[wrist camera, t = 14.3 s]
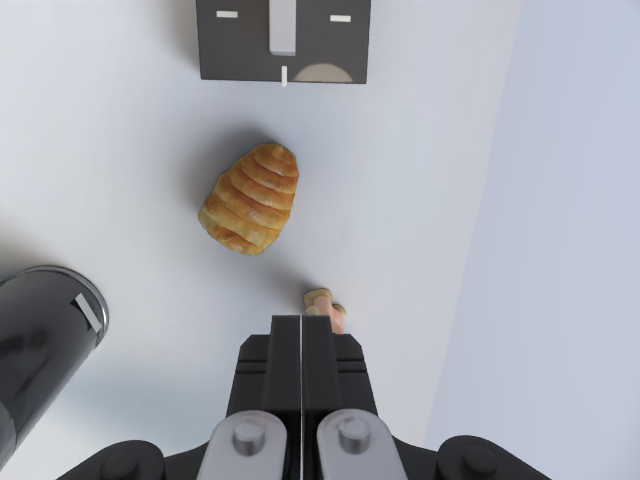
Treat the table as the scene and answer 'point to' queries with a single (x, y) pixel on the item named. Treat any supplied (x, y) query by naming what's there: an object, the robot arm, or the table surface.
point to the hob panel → (310, 50)
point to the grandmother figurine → (325, 308)
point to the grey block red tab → (282, 27)
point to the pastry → (252, 200)
